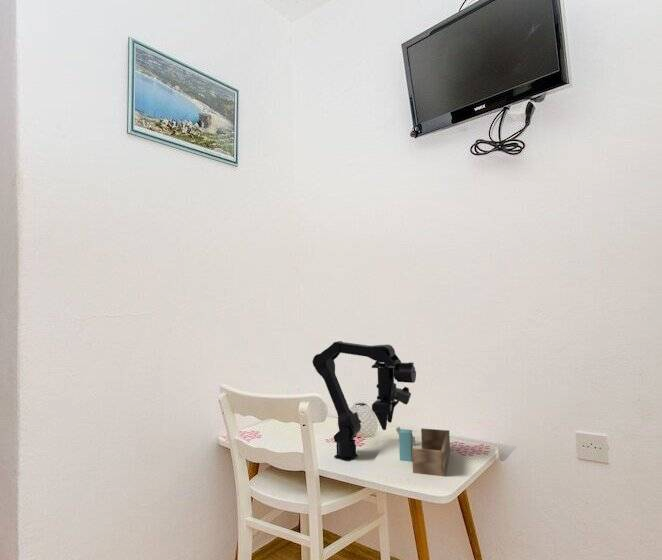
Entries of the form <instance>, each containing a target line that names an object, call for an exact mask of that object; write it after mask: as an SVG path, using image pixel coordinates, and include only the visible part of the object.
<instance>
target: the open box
mask: <svg viewBox="0 0 662 560" xmlns="http://www.w3.org/2000/svg"><path fill="white" fill-rule="evenodd" d="M420 429H421V431H420V432H421V437H420V438H421V448H418V447H417V448H416V447H415V448H414V447H413V448H412V461H411V462H412V474H418V475H428V476H436V477H444V478H446V474H447V473H446V472H447V469H448V463H449V460H450V453H451V444H450V442H451V441H450V440H451V439H450V430H449V429H448V430H447V429H434V428H424V427H423V428H420Z"/></svg>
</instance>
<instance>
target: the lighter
mask: <svg viewBox="0 0 662 560" xmlns="http://www.w3.org/2000/svg"><path fill="white" fill-rule="evenodd" d="M401 429H402V428H400V426H398V427H396V428H395V430H396V432H397V434H398V435H399V432H400V430H401ZM412 441H413V447H415V446H416V437H415V436H413V434H412Z"/></svg>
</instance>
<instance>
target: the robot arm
mask: <svg viewBox="0 0 662 560" xmlns="http://www.w3.org/2000/svg"><path fill="white" fill-rule="evenodd" d="M340 354H347V355H352V356H358V357H359V356H361V357H367V358H369V359H371V360H373V361H375V362H374V363H373V364H372V365H371V369H377V384H376V388H377V396H376V400H375V401H374V402H372V404H371V411H372V412H373V413H374V415H375V416H376V418H377V420H378V422H379V425H380V427H381V429H382V431H386V430H387V425H388V423H389V424H391V423H392V421H393V415H394V412H395V411H394V410H395V407H396V406H397V405H398V404H399V402H400V403H402V404H404V405H408V403H409V402H410V399H411V396H412V392H410V388H409V387H407V386H404V387H403V388H399V387H397V383H395V381H396V382H398V383H408V384H409V383H410V384H414V383H416V379H417V371H416V368H415V366H414V362H413V361H412V362H402V361H401V359H400V358H399V357H398V356H397V353H396V351H395V347H393V346H392V345H391V344H378V345H377V344H376V345H375V344H374V345H367V344H359V343H352V342H346V341H345V342H343V341H341V340H340V341H335V342H334V341H333V343H332V344H330V345H329V347H327V348H326V349H324V350H323V351H322V352H320V353H317V354H315V355H314V357H312V364H313V367H314V368H315V370H316V372H317V374H319V376H320V377H321V378H322V379H323V382H324V384H325V386H326V388H327V391H328V393H329V396H330V399H331V401H332V403H333V405H334V408H335V411H336V414H337V426H338V431H337V433H335V434H334V435H333V440H334V443H336V454H335V455H334V458H335V457H336V458H335V459H338V458H340V459H339V460H342V459H344V460H343V461H346V460H349V461H351V460H352V459H355V458H356V457H358V454H357V445H356V439H354V438H356V437H357V434H359V433H360V431H361V429H362V425H361V423H362V421H361V419H360V417H359V414H358V412H353V411H351V409H350V407H349V404H348V402H347V399H346V397H345V395H344V393H343V389H342V388H341V385H340V383H339V380H338V378H337V377H338V376H337V375H336V363H335V360H336V359H337V358H338V357H339V355H340ZM350 459H351V460H350Z"/></svg>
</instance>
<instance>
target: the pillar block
mask: <svg viewBox="0 0 662 560" xmlns="http://www.w3.org/2000/svg"><path fill="white" fill-rule="evenodd" d="M400 429H401V430H400V432H399V434H398V442H399V443H398V446H399V447H398V449H399V461H403V462H413V461H412V448H414V446H413V441H412V435H413V429H405V428H404V429H402V428H400Z"/></svg>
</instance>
